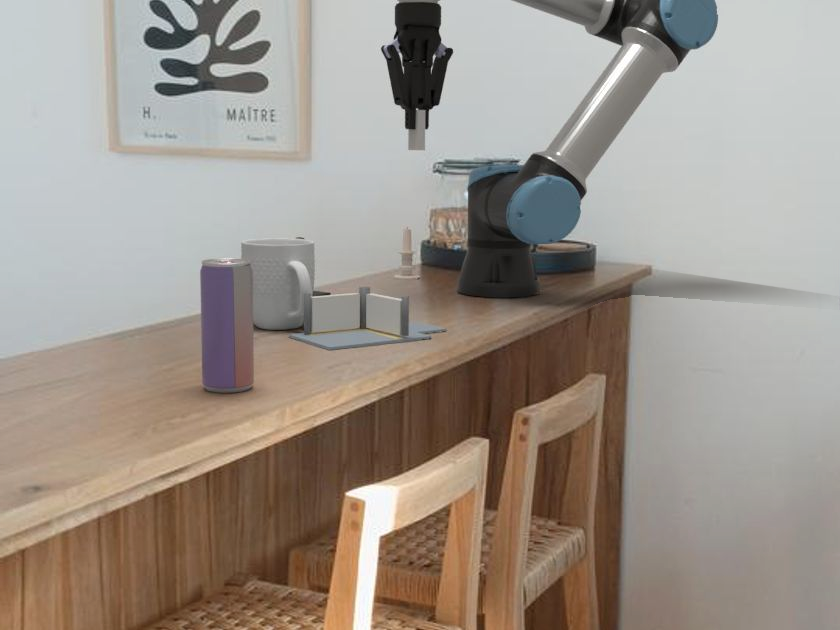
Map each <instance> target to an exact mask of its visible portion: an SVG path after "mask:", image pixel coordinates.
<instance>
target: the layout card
mask: <svg viewBox="0 0 840 630" xmlns="http://www.w3.org/2000/svg"><path fill="white" fill-rule="evenodd" d="M440 331H448V329H447V328H445V327H442V326H436V325H433V324H429V323H425V322H421V321H409V335H408V336H402V335H397V334H392V333H388V332H384V331H379V330H375V329H371V328H370V329H359V327H358V328H348V329H338V330H328V331H318V332H311V334H310V335H304V332H299V333H290V334H289V333H288V338H290V339H294V340H296V341H299V342H303V343H306V344H309V345H313V346H315V347H318V348H322V349H325V350H327V351H335V350H343V349H344V350H345V349H350V348H351V349H353V348H362V347H370V346H379V345H387V344H397V343H405V342H406V343H407V342H416V341H423V340H422V339H425V340H430V339H429V338H431V339H432V335H429V334H434V333H433V332H437V333H441V332H440ZM425 333H428V334H425ZM415 340H416V341H415Z"/></svg>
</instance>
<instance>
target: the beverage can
mask: <svg viewBox="0 0 840 630" xmlns="http://www.w3.org/2000/svg"><path fill="white" fill-rule="evenodd" d="M250 263H251V261H250V260H247V259H241V258H235V257H234V258H231V257H228V258H227V257H226V258H223V257H222V258H209V259H208V258H207V259H204V260H202V261H201V264H202V265H201V268H200V272H199V274H200V275H199V277H200V278H199V279H200V280H199V281H200V325H201V326H200V328H201V330H200V331H201V376H202V377H201V380H202V381H201V383H202V385H203V386H204V389H206V391H208V392H211V393H220V394H235V393H242V392H246V391H249V390H250V389H251V388H252V386H253V385H254V382H255V373H254V371H255V370H254V369H255V365H254V364H255V362H254V360H255V359H254V356H255V355H254V353H255V352H254V351H255V350H254V322H253V270H252V268H251V265H250Z"/></svg>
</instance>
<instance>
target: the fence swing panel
mask: <svg viewBox="0 0 840 630" xmlns="http://www.w3.org/2000/svg"><path fill="white" fill-rule="evenodd" d="M409 320H410V297H409V296H408V295H402V296H401V298H400V297H399V298H398V297H393V296H388V295H382V294H378V293H377V294H376V293H370V294H366V328H371V329H375V330H379V331H384V332H388V333H392V334H397V335H402V336H408V335H409V322H410V321H409Z"/></svg>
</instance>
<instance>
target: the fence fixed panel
mask: <svg viewBox="0 0 840 630" xmlns="http://www.w3.org/2000/svg"><path fill="white" fill-rule="evenodd" d="M358 291H359V292H358V293H357V292H351V293H341V294H340V293H338V294H337V293H336V294H331V295H325V296H313V297H311V293H304V322H303V333H304V335H310V334H311V332H318V331H328V330H338V329H348V328H358V327H359V329H370V328H366V294H371V287H370V286H359V288H358Z"/></svg>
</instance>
